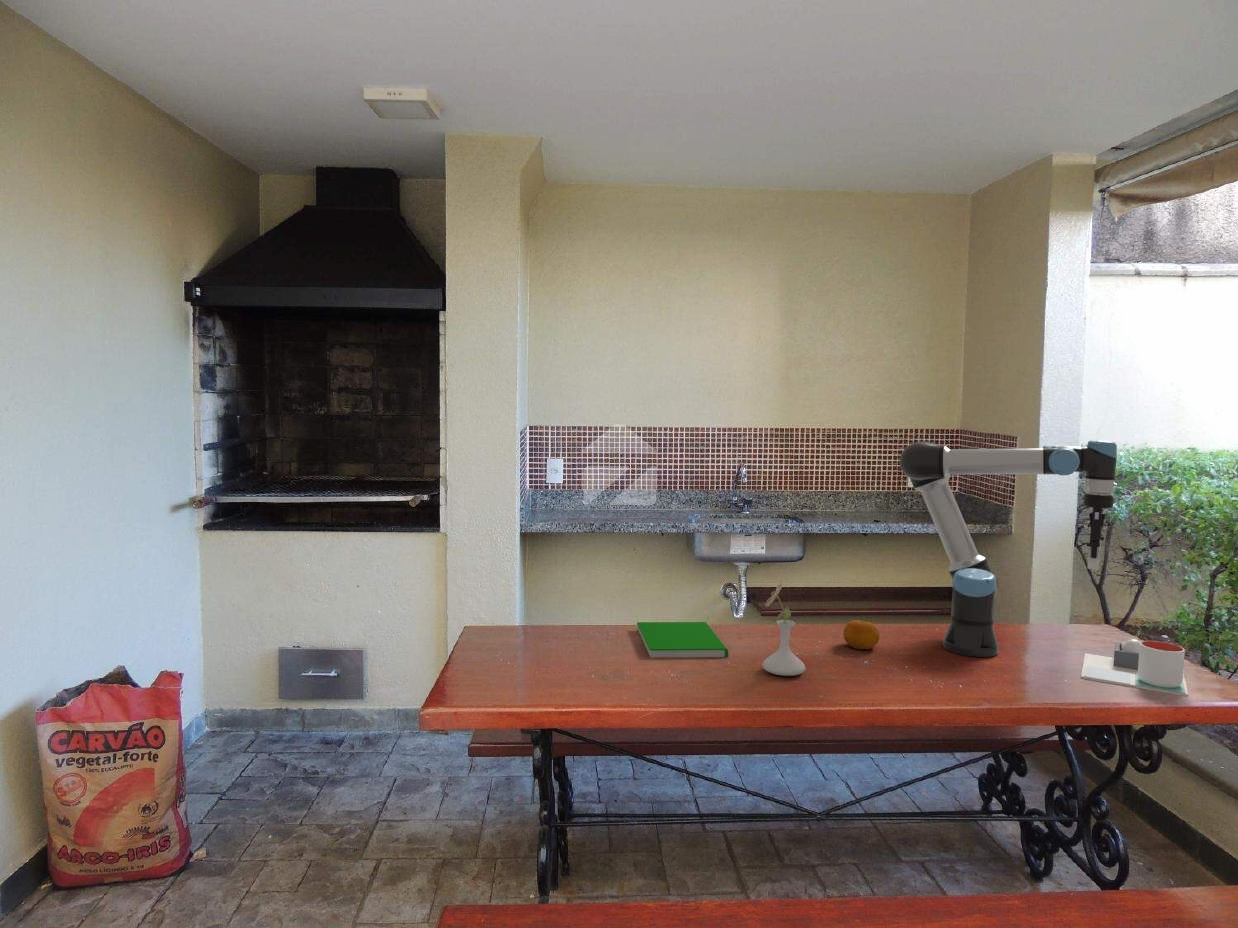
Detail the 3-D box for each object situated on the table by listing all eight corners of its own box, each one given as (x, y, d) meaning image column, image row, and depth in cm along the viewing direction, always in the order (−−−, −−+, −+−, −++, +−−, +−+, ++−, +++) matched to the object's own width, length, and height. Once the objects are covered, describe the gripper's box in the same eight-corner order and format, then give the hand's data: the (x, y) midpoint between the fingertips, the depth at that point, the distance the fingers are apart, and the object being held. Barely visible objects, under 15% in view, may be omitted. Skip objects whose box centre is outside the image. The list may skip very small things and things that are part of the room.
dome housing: (1113, 665, 238) (1114, 650, 237) (1113, 657, 246) (1115, 642, 245) (1152, 672, 233) (1154, 656, 233) (1151, 663, 241) (1153, 648, 241)
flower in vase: (778, 663, 234) (781, 574, 232) (813, 673, 226) (817, 581, 224) (749, 673, 225) (753, 580, 223) (785, 684, 217) (789, 588, 215)
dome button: (1120, 662, 238) (1122, 640, 238) (1120, 657, 243) (1122, 635, 243) (1145, 666, 235) (1147, 643, 235) (1145, 661, 240) (1147, 638, 240)
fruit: (883, 646, 253) (884, 620, 253) (873, 654, 244) (874, 627, 244) (848, 640, 259) (850, 614, 258) (837, 648, 250) (839, 621, 249)
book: (649, 659, 236) (649, 649, 236) (636, 631, 264) (636, 622, 264) (728, 658, 239) (728, 648, 238) (707, 631, 267) (707, 621, 266)
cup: (1188, 691, 218) (1191, 653, 217) (1146, 687, 220) (1149, 649, 219) (1171, 678, 227) (1174, 642, 227) (1131, 675, 229) (1133, 639, 229)
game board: (1081, 677, 228) (1082, 660, 228) (1085, 654, 249) (1086, 638, 249) (1187, 696, 216) (1189, 677, 215) (1182, 670, 237) (1183, 653, 237)
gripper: (1113, 498, 234) (1107, 574, 235) (1114, 491, 255) (1109, 560, 257) (1082, 496, 237) (1076, 570, 239) (1086, 489, 259) (1081, 557, 260)
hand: (1093, 565), depth 248 cm, fingers open, 13 cm apart
